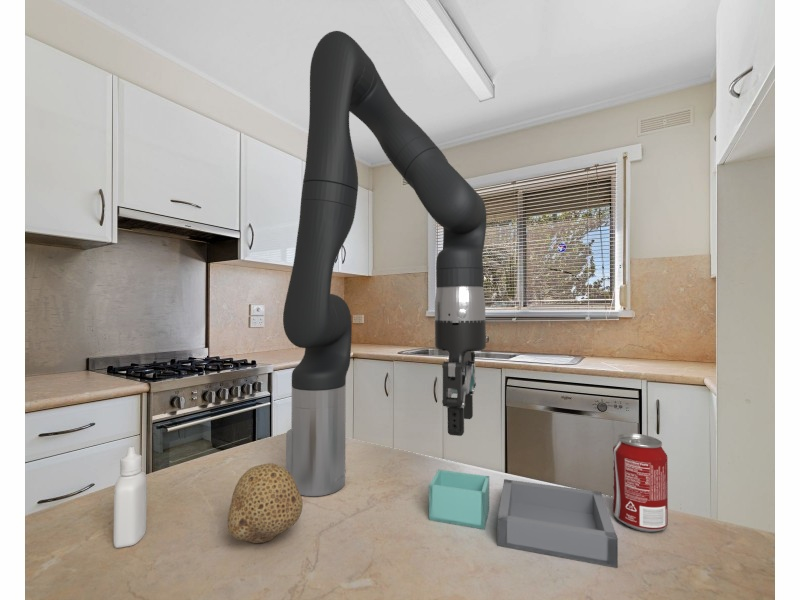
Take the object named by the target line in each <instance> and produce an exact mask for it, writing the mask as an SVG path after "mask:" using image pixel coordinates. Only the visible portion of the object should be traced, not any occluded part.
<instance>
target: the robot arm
mask: <svg viewBox="0 0 800 600" xmlns="http://www.w3.org/2000/svg"><path fill="white" fill-rule="evenodd" d="M350 113H351V114H352V115H354V116H355V117H356V118H357V119H359V120H360V121H361V122H362V123H363V124H364V125H365V126H366V127H367V128H368V129H369V130H370V132H371V133H372V134H373V135H374V137H375V138H376V140H377V141H378V143H379V146H380V147H381V149H382V151H383V152H384V154H385V156H386V157H387V159H388V160H389V161H390V163H391V165H392V166H394V168H395V169H396V170H397V172H398V174H399V175H401V177H402V178H403V179H404V181H405V182H406V183H407V184H408V185H409V186H410V187H411V188H412V189H413V190H414V192H415V194H416V195H417V198H418V199H419V201H420V202H421V204H422V205H423V207H424V209H425V210H426V211H427V213H428V214H429V215H430V216H431V218H432V219H433V220H434V221H435V222H436V223H437V225H439V226H440V227H442V228H443V240H442V241H443V243H442V249H441V251H439V252H438V254H437V257H436V261H435V270H436V271H435V275H436V277H435V278H436V281H435V282H436V284H435V285H436V290H435V298H434V347H435V348H436V349H437V350H439V351H447V352H448V353H449V355H448V361H443V363H442V401H441V404H442V406H443V407H445V408H447V433H448V435H450V436H459V437H461V436H463V435H464V433H465V420H471V419H472V418H473V416H474V411H473V410H474V407H473V405H474V404H473V401H474V398H473V395H474V394H475V393H474V392H475V388H476V386H477V383H476V378H477V377H476V353H475V352H477V351H483V350H484V349H485V348H486V345H487V343H486V340H487V339H486V338H487V337H486V334H487V333H486V331H487V330H486V329H487V327H486V297H485V292H484V261H483V252H484V247H485V240H486V232H487V231H486V230H487V209H486V204H485V201H484V199H483V198H482V197H481V195H479V193H478V192H477V191H476V190H475V188H473V187H472V186H471V184H470V183H469V182H468V181H467V180H466V179H465V178H464V177H463V176H462V175H461V174H460V173H459V172H458V171H457V170H456V169H455V167H454V166H452V165H451V164H450V163H449V161H448V159H447V158H446V155H445V154H444V153H443V151H442V150H441V149H440V147H438V145H436V144H435V142H434V141H433V140H432V139H431V137H430V136H429V135H428V134H427V133H426V132H425V131H424V130H423V129H422V127H420V126H419V125H418V123H416V122H415V121H414V120H413V119H412V118H411V117H410V116H409V115H408V114H407V113H406V112H405V111H404V110H403V109H402V108H401V107H400V106H399V105H398V103H397V102H396V100H395V99H394V97H393V96H392V95H391V92H389V89H388V88H387V86H386V85H385V83H384V81H383V79H382V77H381V75H380V74H379V71H378V70H377V68H376V66H375V63H374V62H373V61H372V59H371V57H369V56H368V54H367V52H365V50H364V49H363V48H362V47H361V46H360V44H359V43H358V42H357V41H356V40H355V38H352V36H350V35H349V34H348V33H345V32H344V31H341V30H333V31H330V32H327V33H326V34H325V35H323V36H322V38H321V39H320V40H319V41H318V42H317V45H316V47H315V48H314V50H313V53H312V56H311V61H310V69H309V118H308V119H309V120H308V121H309V123H308V133H307V142H306V143H307V145H306V157H305V167H304V172H303V173H304V174H303V179H302V180H303V181H302V188H301V195H300V196H301V198H300V209H299V219H298V220H299V221H298V227H297V228H298V230H297V236H296V243H295V244H296V245H295V250H294V259H293V265H292V269H291V273H290V279H289V284H288V287H287V292H286V297H285V302H284V305H283V306H284V307H283V314H282V315H283V316H282V325H283V330H284V333H285V336H286V337H287V339H288V341H290V343H291V344H292V345H294V346H295V347H297V348H302V349H304V354H303V357H302V359H301V361H300V362H299V363H298V364H297V365H296V366H295V367H294V369H293V370H292V372H291V423H290V424H291V425H290V426H291V427H290V428H291V429H288V430H287V431H286V434H285V436H286V437H285V438H286V439H285V441H286V443H285V469H286V470H287V471H288V472H289V473H290V474H291V475H292V477H293V479H294V481H295V483H296V485H297V488H298V491H299V493H300V495H301V496H306V497H319V496H326V495H331V494H334V493H336V492H338V491H340V490H341V489H342V488H344V487H345V485H346V471H347V470H346V413H347V411H346V405H347V403H346V397H347V396H346V395H347V394H346V390H347V389H346V388H347V386H346V383H347V382H346V381H347V373H348V371H349V368H350V364H351V351H352V336H353V335H352V330H353V329H352V325H353V324H352V322H353V321H352V316H351V311H350V308H349V305H348V304H347V302H346V301H345V300H344V299H343V298H342V297H340V296H339V295H337V294H333V293H331V288H332V277H333V272H334V267H335V264H336V260H337V258H338V255H339V253H340V251H341V249H342V248H343V245H344V243H345V241H346V239H347V238H348V235H349V233H350V231H351V229H352V226H353V224H354V221H355V220H354V219H355V216H356V215H355V214H356V209H357V200H358V192H359V175H358V167H357V160H356V157H355V151H354V147H353V143H352V137H351V129H350ZM453 394H456V397H452V395H453Z"/></svg>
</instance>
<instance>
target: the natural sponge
mask: <svg viewBox="0 0 800 600" xmlns="http://www.w3.org/2000/svg"><path fill="white" fill-rule="evenodd" d="M234 487H235V488H234V490H233V494H232V496H231V500H230V501H231V502H230V505H229V510H228V515H227V529H228V532H229V534H230V536H231V537H233V538H234V539H236V540H239V541H246V542H249V543H254V544H262V543H263V544H264V543H266V542H270V541H271V540H273V539H274V538H275V537H276V536H277V535H279V534H281V533H283V532H285V531H286V530H288V529H290V528H291V527H292V526H293V525H294V524H295V523H297V521H298V520H299V519H300V516H301V514H302V512H303V498H302V495H300V493H299V491H298V488H297V485H296V483H295V481H294V479H293V477H292V475H291V474H290V473H289V472H288V471H287V470H286V468H284V467H283V466H281V465H279V464H277V463H272V462H270V463H264V464H260V465H259V464H258V465H255V466H252V467H250V468H249V469H247V470H246V471H245V472H244V473H243V475H241V476H240V477H239V479H238V481H237V483H236V484H235V486H234Z"/></svg>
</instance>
